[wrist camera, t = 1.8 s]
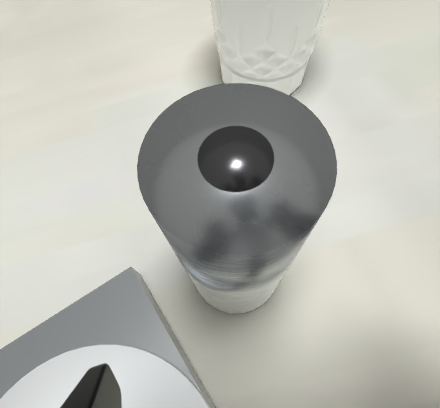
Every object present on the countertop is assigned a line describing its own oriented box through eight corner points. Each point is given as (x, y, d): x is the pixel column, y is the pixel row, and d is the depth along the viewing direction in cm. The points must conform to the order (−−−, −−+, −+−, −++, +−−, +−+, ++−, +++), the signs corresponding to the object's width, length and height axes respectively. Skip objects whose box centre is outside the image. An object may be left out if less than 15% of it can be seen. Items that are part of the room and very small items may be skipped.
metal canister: (296, 280, 20) (381, 177, 8) (224, 332, 19) (205, 299, 7) (245, 213, 21) (256, 55, 10) (177, 258, 20) (103, 137, 9)
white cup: (195, 62, 27) (175, -83, 18) (272, 24, 29) (289, -128, 20) (249, 126, 24) (258, -10, 15) (332, 79, 26) (384, -69, 17)
